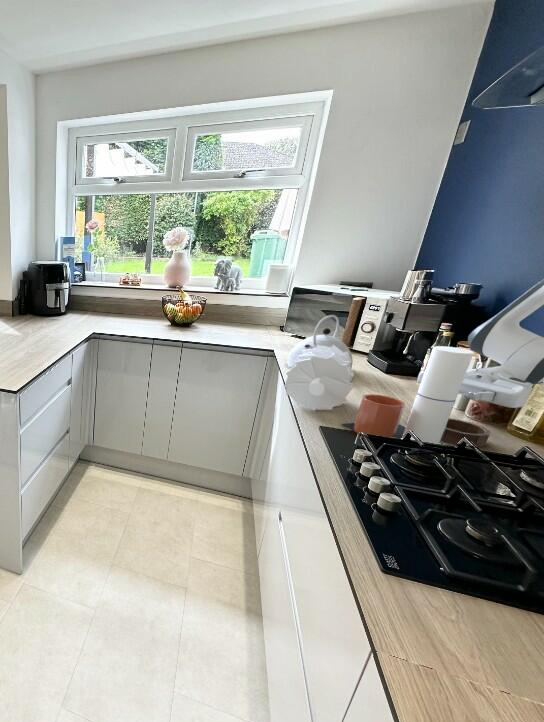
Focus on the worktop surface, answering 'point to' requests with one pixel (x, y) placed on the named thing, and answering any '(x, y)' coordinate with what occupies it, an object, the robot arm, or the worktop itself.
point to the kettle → (319, 343)
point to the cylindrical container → (438, 392)
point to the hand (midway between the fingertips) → (448, 389)
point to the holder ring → (465, 432)
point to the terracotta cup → (378, 415)
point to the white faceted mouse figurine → (320, 378)
